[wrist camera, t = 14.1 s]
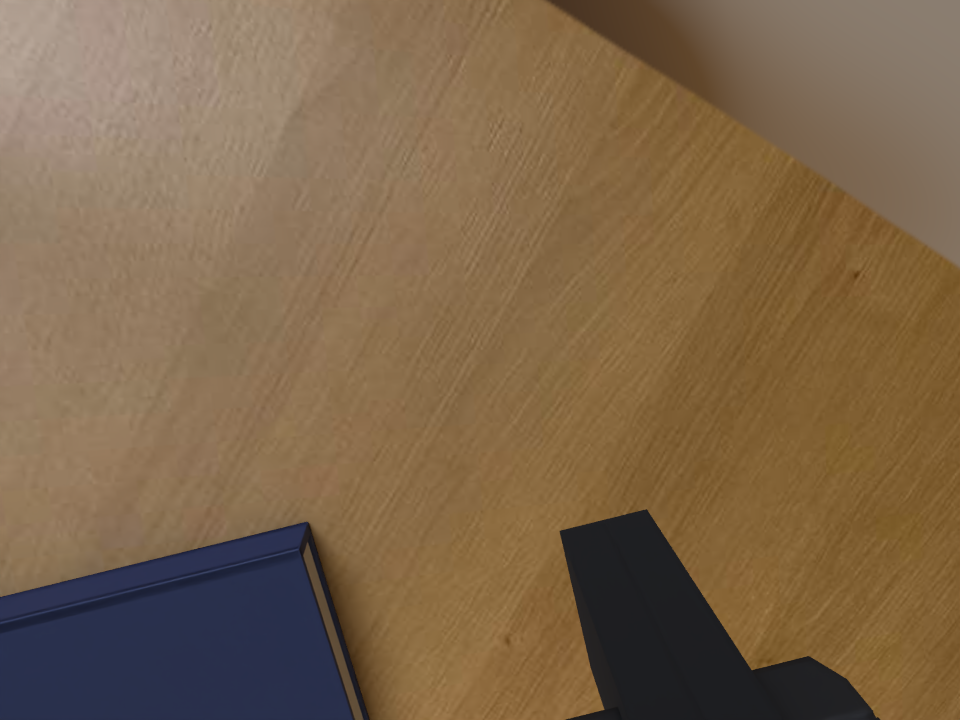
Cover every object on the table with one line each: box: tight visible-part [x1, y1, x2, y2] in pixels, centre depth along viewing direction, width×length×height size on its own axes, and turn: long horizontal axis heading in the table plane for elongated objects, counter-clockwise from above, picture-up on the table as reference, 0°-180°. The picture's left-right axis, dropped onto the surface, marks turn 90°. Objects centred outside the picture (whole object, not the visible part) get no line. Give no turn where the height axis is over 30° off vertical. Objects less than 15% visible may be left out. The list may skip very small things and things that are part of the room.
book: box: [0, 522, 369, 720], centre depth 38 cm, size 24×13×3 cm, turn 103°
